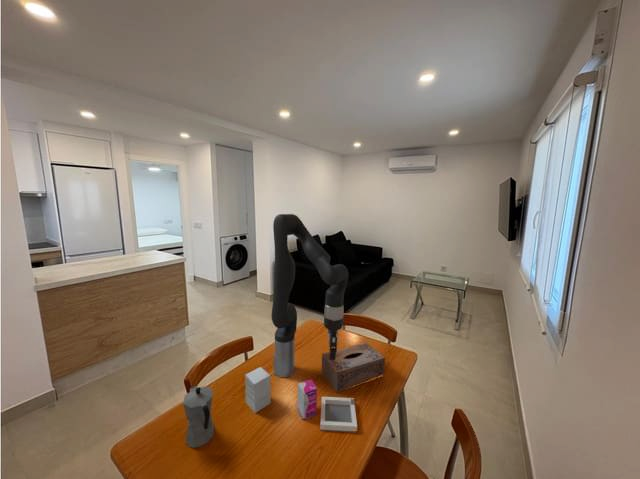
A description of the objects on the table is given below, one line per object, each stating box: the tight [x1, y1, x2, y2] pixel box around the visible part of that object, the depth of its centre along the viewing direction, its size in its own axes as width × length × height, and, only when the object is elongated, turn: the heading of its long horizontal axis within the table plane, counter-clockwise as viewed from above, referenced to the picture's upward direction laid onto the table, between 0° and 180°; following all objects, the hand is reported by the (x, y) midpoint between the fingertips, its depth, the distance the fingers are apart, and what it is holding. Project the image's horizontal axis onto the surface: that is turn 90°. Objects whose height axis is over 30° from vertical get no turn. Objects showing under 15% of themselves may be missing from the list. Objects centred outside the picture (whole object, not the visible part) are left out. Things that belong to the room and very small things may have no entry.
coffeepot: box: [182, 385, 215, 449], centre depth 84 cm, size 15×9×18 cm, turn 43°
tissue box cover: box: [321, 341, 386, 394], centre depth 119 cm, size 26×14×10 cm, turn 116°
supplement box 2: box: [297, 379, 318, 421], centre depth 96 cm, size 6×6×12 cm
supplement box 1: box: [244, 366, 272, 414], centre depth 100 cm, size 7×7×13 cm
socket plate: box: [319, 396, 358, 433], centre depth 95 cm, size 13×13×3 cm
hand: (332, 352), depth 101 cm, fingers open, 8 cm apart
